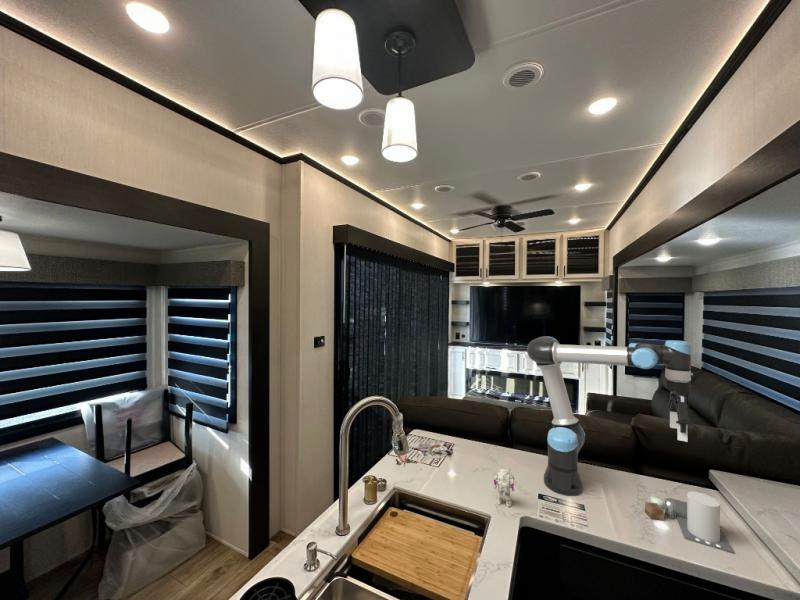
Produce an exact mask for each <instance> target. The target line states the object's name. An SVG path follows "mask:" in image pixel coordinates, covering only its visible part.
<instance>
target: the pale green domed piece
mask: <svg viewBox="0 0 800 600" xmlns="http://www.w3.org/2000/svg"><path fill="white" fill-rule="evenodd" d="M650 503H657V504H658V505H659V506H660V507H661V508H662V509H663V510H665V499H663V498H662V497H660V496H658V495H650Z"/></svg>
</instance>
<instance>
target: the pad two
mask: <svg viewBox="0 0 800 600" xmlns="http://www.w3.org/2000/svg"><path fill="white" fill-rule="evenodd" d="M669 499H672V500H673V501H675V517H676V518H677V517H679V518H683V519H687V501H683V500H682V501H681V500H678V499H676V498H672V497H669Z"/></svg>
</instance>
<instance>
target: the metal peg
mask: <svg viewBox="0 0 800 600" xmlns="http://www.w3.org/2000/svg"><path fill="white" fill-rule="evenodd" d="M669 498H670V497H669ZM669 498H668V497H667V498H664V517H666V518H667V519H669V520H676V515H675V501H673V500H672V499H673V498H672V499H669Z"/></svg>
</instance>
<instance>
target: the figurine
mask: <svg viewBox="0 0 800 600" xmlns="http://www.w3.org/2000/svg"><path fill="white" fill-rule="evenodd" d="M497 470H498V471H494V473H493V483H494V484H493V488H494V489H497V494H496V500H495V502H496V504H497V505H501V504H502V503H503V494H504V498H505V505H506V507H507V508H510V507H512V504H513V500H511V493H513V492H515V487H514V486H515V477H514V475H512V474H511V467H508V468H507V469H506V468H505V469H504V468H502V467H501V466H500V465H498V468H497Z"/></svg>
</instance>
